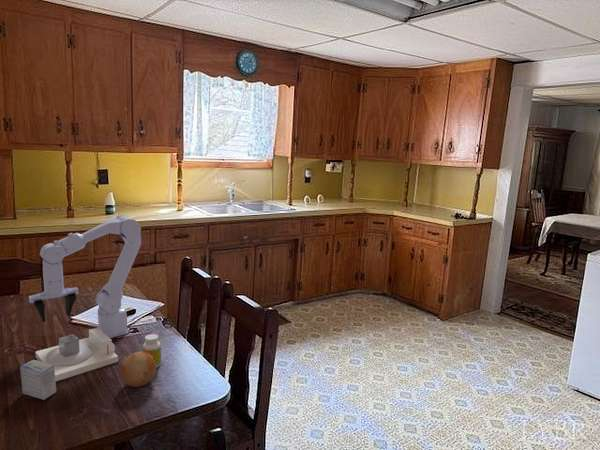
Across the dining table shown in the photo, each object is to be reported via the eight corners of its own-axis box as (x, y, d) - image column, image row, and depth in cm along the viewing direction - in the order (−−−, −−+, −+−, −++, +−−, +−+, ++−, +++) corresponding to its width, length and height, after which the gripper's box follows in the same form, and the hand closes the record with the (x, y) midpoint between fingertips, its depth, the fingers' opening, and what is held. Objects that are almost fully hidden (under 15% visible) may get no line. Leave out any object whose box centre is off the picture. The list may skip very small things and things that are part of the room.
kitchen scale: (97, 340, 155) (96, 323, 154) (119, 361, 142) (118, 343, 140) (35, 357, 141) (34, 339, 140) (53, 382, 128) (52, 362, 127)
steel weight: (73, 348, 143) (72, 333, 142) (79, 352, 140) (78, 338, 139) (59, 352, 139) (58, 338, 138) (65, 357, 136) (64, 342, 135)
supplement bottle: (155, 370, 137) (154, 341, 136) (139, 367, 138) (139, 339, 137) (163, 361, 143) (163, 334, 141) (149, 359, 144) (148, 332, 142)
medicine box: (57, 392, 123) (55, 364, 122) (43, 401, 119) (41, 372, 118) (36, 386, 126) (33, 358, 124) (21, 394, 122) (19, 366, 120)
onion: (136, 397, 123) (135, 365, 121) (114, 385, 128) (112, 354, 126) (163, 382, 131) (162, 351, 129) (141, 371, 136) (140, 342, 134)
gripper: (73, 272, 152) (75, 309, 155) (25, 280, 142) (28, 319, 145) (79, 278, 147) (81, 315, 150) (30, 286, 137) (34, 326, 140)
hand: (56, 318), depth 147 cm, fingers open, 7 cm apart
